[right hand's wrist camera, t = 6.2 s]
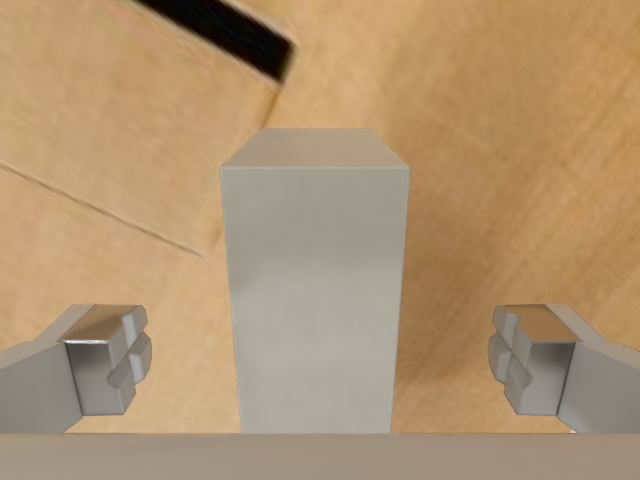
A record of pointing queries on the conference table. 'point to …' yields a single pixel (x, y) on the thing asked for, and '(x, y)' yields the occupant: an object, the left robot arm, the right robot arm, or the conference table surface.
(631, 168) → the conference table surface
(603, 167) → the conference table surface
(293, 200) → the bar
